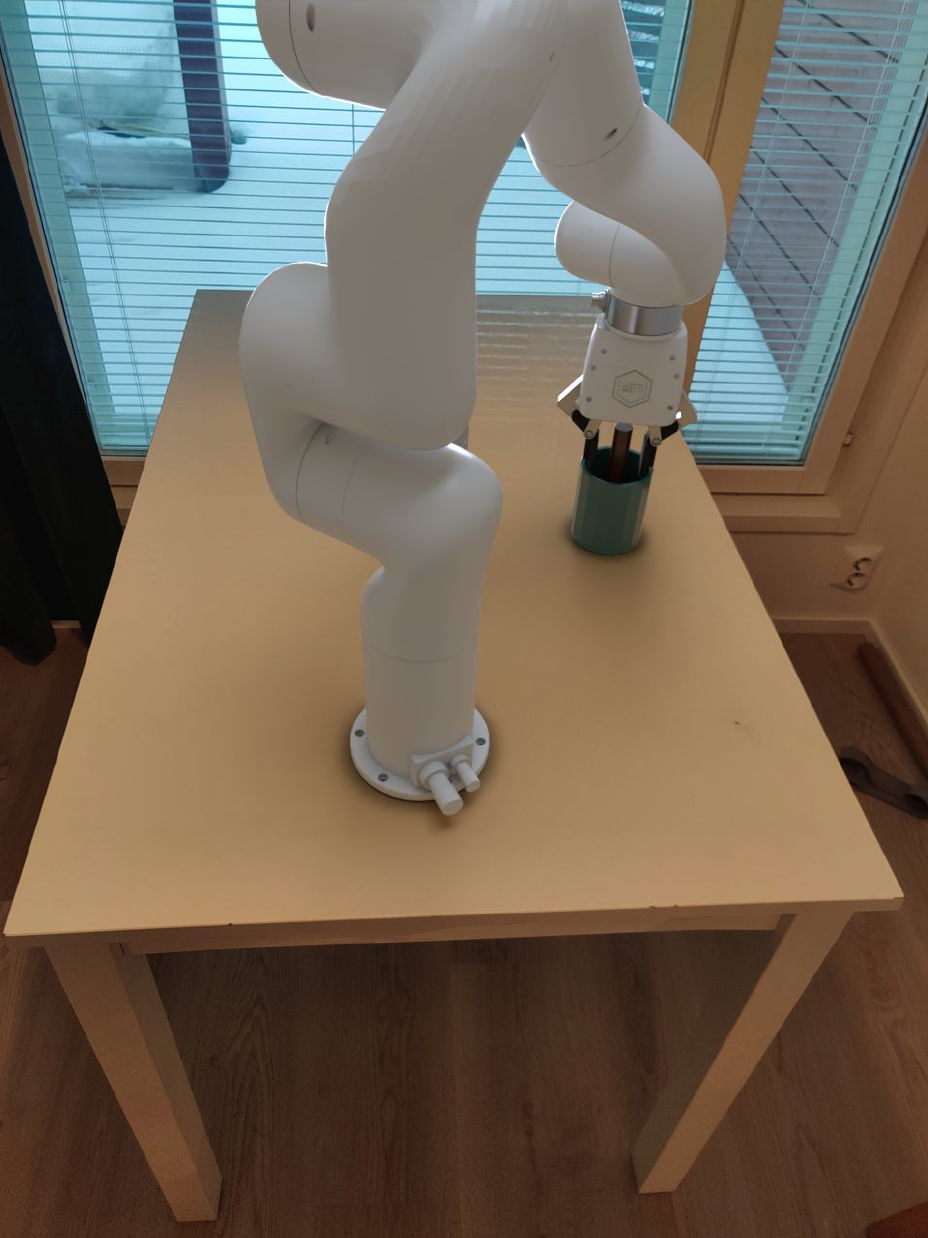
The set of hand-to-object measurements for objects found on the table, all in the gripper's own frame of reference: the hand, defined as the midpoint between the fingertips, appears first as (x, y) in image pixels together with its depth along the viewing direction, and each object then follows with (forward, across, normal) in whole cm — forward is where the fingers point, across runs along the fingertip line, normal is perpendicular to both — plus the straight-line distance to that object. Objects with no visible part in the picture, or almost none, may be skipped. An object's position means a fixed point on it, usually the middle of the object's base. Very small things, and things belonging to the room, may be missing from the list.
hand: (616, 466), depth 103 cm
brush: (+9, 0, 0) cm, 9 cm away
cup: (+9, 0, 0) cm, 9 cm away
